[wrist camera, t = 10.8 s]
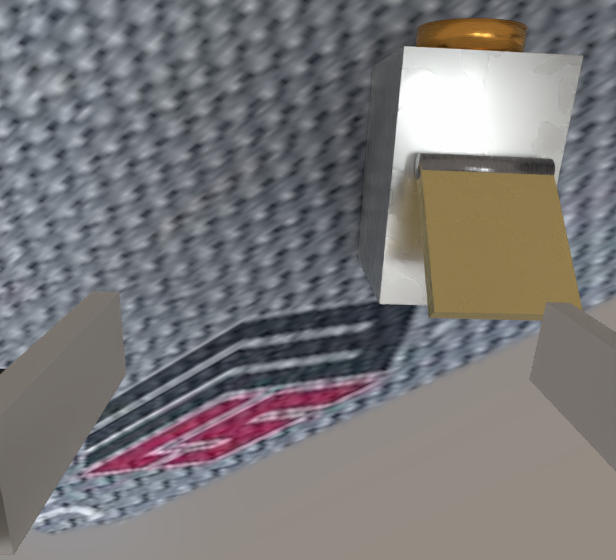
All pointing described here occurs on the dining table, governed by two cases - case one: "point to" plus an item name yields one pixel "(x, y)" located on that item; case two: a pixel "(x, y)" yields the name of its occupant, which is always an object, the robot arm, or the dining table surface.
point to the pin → (473, 34)
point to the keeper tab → (492, 237)
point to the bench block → (449, 140)
